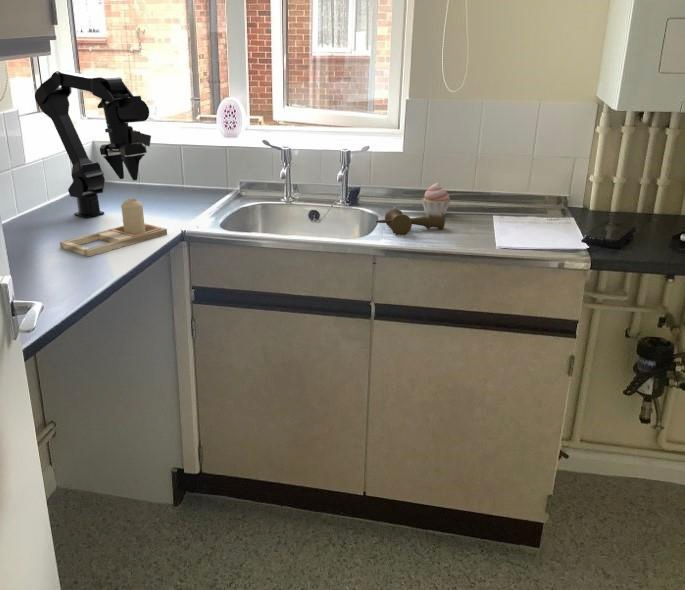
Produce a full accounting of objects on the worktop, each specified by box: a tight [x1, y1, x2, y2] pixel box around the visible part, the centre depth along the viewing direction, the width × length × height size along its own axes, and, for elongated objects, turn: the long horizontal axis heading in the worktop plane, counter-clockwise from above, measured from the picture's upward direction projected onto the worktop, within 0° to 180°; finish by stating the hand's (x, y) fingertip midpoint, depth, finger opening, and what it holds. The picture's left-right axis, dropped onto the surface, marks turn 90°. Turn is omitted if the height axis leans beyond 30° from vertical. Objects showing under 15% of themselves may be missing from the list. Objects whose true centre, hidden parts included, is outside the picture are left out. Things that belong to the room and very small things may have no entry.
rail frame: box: [59, 222, 168, 257], centre depth 179 cm, size 12×25×2 cm, turn 144°
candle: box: [120, 198, 146, 236], centre depth 182 cm, size 6×6×10 cm
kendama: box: [375, 208, 446, 236], centre depth 191 cm, size 6×10×20 cm
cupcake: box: [420, 182, 452, 216], centre depth 206 cm, size 9×9×10 cm
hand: (128, 179), depth 191 cm, fingers open, 9 cm apart
